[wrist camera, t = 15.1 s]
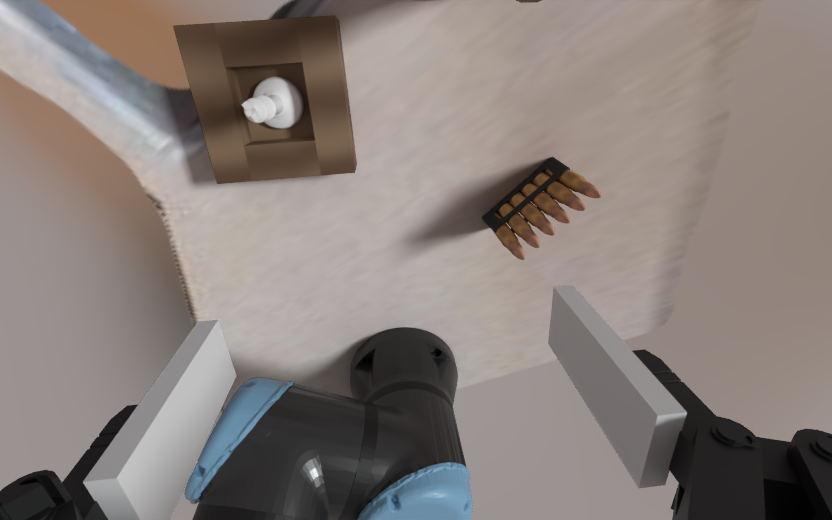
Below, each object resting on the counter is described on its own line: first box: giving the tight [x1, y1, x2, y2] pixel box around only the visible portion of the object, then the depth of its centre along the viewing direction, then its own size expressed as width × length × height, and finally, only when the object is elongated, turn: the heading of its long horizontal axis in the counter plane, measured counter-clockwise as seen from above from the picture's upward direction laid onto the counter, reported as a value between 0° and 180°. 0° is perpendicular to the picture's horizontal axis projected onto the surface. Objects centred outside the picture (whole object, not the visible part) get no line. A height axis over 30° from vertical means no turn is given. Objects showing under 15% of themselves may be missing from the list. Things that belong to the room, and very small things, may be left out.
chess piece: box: [242, 77, 304, 129], centre depth 37 cm, size 5×5×10 cm
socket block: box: [173, 16, 357, 184], centre depth 40 cm, size 14×14×4 cm
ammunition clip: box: [482, 157, 601, 260], centre depth 43 cm, size 11×2×12 cm, turn 133°
